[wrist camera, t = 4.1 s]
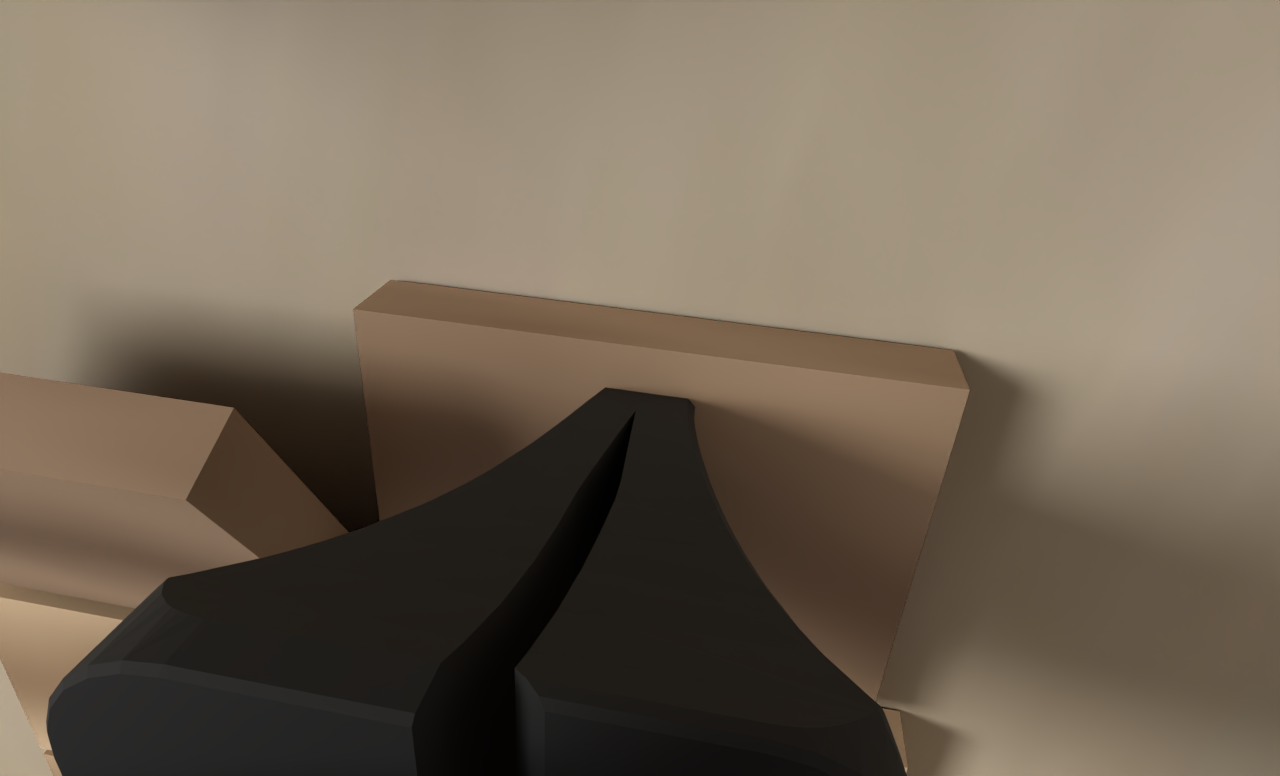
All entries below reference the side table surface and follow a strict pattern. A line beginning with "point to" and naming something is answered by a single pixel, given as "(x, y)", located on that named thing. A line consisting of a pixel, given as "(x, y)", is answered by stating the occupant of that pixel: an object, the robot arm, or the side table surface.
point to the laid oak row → (70, 629)
